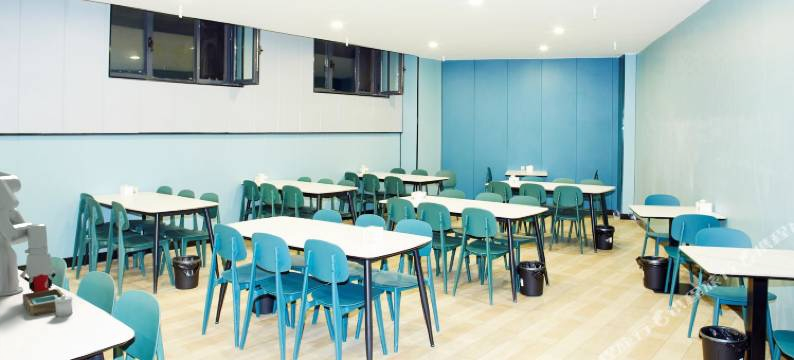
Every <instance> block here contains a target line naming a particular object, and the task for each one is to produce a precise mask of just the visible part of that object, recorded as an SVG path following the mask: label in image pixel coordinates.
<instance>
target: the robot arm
mask: <svg viewBox="0 0 794 360" xmlns="http://www.w3.org/2000/svg"><path fill="white" fill-rule="evenodd" d="M21 188H22V183H21V181H20V179H19V178H18V177H17V176H16V175H13V174H11V173H8V172H7V173H6V172H4V171H0V297H5V296H12V295H16V294H19V293H22V292H23V291H24V288H23V287H22V286H20V284H19V283H20V280H19V277H20V278H22V279H23V280H25V281H26V282H28V289H29V290H30V291H31V292H33V291H34V286H33V281H32V280H33V278H34V277H36V276H38V275H40V274H43V275H48V284H49V290H51V289H52V286H53V279H54V277H56V275H57V274H59V272H60V269H58V268H57V267H55V266H54V265H53V260H52V259H53V258H52V256H51V255H52V254H51V252H49V249H48V246H49V245H48V236H47V226H46V224H43V223H36V222H32V221H31V222H26V221H25V219H24V218H23V216H22V214H21V213H20V212H19V210H18V209H17V208H18V206H19V204H20V202H19V199H18V198H17V196H16V195H15V193H18V192H20V190H21ZM26 242H27V247H28V248H27V249H25V250H24V253H25V254H27V255H26V264H25V265H26V266H25V267H26V268H25V269H24V270H23V272H22V273H21V274H20V275H19V270H18V256H17V252H16V251H15V250H14V248H13V246H14V245H20V244H24V243H26ZM26 275H27V276H26Z"/></svg>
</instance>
